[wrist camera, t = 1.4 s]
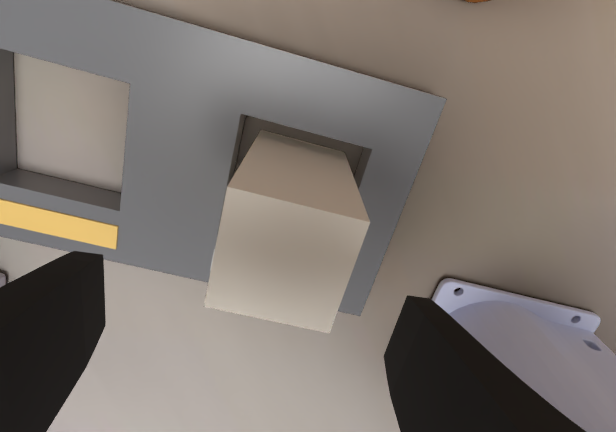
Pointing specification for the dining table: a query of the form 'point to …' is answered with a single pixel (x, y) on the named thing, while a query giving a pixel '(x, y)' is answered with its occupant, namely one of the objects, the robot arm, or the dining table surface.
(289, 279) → the plug block
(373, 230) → the jack panel
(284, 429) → the dining table surface
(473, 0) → the coffee package
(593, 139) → the dining table surface
